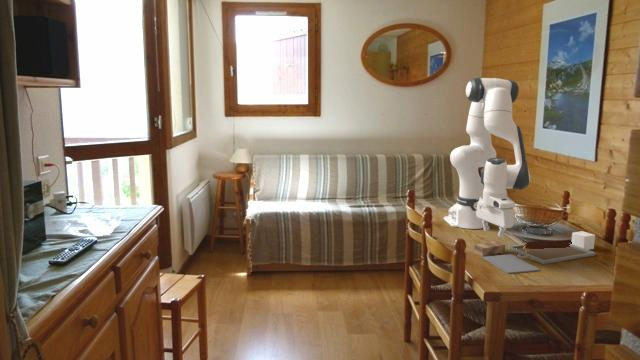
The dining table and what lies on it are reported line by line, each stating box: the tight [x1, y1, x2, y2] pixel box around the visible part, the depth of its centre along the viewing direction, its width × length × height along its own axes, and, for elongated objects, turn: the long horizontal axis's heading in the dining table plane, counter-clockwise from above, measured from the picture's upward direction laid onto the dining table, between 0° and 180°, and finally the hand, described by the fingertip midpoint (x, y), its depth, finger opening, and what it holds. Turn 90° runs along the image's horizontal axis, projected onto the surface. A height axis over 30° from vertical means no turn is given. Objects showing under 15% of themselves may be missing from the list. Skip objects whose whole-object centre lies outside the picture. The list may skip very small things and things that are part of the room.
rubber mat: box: [481, 253, 541, 275], centre depth 181 cm, size 17×13×1 cm
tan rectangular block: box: [473, 240, 506, 257], centre depth 194 cm, size 11×5×4 cm, turn 112°
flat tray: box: [506, 243, 597, 265], centre depth 195 cm, size 19×2×30 cm
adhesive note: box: [570, 230, 596, 251], centre depth 200 cm, size 6×6×6 cm
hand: (493, 233), depth 192 cm, fingers open, 8 cm apart
